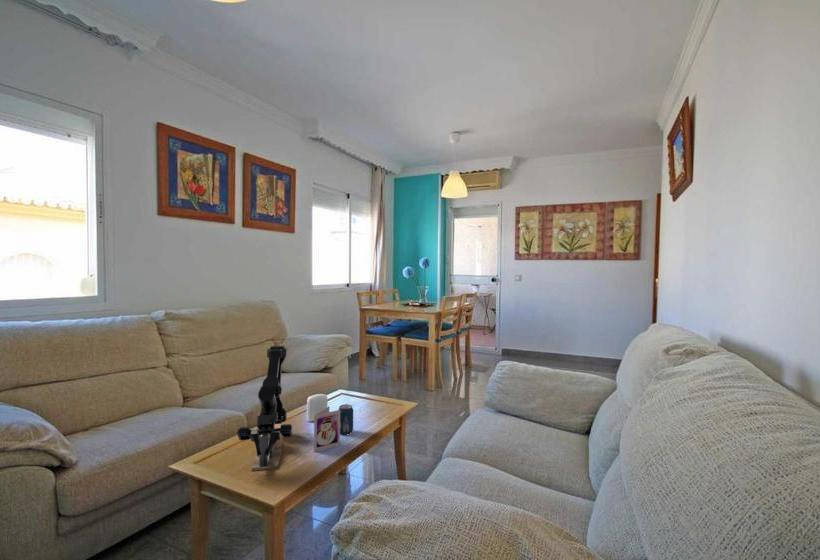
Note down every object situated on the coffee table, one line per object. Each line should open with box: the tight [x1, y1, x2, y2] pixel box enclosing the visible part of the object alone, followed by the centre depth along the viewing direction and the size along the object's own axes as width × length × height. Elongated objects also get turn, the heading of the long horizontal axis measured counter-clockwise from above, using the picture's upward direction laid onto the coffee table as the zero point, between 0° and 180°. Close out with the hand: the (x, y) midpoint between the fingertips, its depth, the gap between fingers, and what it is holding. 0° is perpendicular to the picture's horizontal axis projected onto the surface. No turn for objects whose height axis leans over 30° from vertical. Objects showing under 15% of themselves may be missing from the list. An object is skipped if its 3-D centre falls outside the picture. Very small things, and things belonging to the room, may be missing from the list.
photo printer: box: [306, 393, 329, 422], centre depth 187 cm, size 10×4×12 cm, turn 125°
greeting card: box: [313, 406, 341, 453], centre depth 159 cm, size 11×7×15 cm, turn 126°
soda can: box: [338, 403, 354, 436], centre depth 172 cm, size 7×7×12 cm
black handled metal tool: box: [259, 433, 271, 468], centre depth 143 cm, size 16×3×12 cm, turn 12°
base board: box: [251, 441, 284, 471], centre depth 149 cm, size 20×9×1 cm, turn 12°
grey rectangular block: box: [268, 439, 276, 459], centre depth 149 cm, size 8×4×4 cm, turn 12°
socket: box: [268, 423, 283, 448], centre depth 156 cm, size 4×8×8 cm, turn 102°
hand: (262, 455), depth 135 cm, fingers closed on black handled metal tool, 3 cm apart
